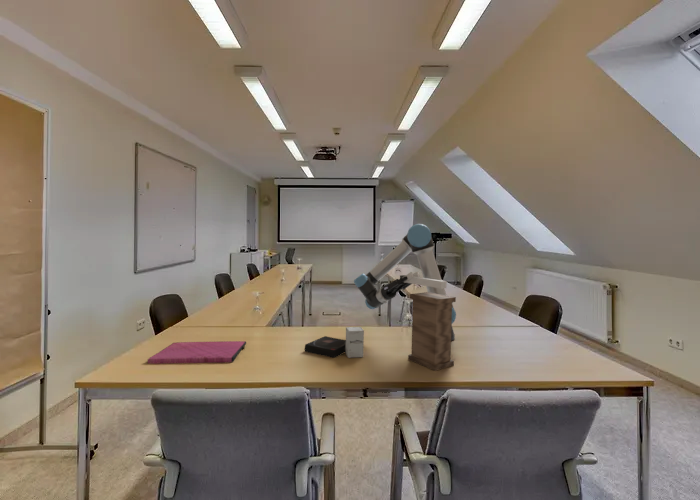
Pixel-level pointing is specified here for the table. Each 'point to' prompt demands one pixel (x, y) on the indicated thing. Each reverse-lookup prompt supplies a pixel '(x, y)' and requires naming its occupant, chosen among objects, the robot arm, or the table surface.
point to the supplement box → (354, 342)
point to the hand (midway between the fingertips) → (415, 274)
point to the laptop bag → (199, 352)
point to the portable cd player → (326, 347)
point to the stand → (431, 330)
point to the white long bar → (427, 282)
